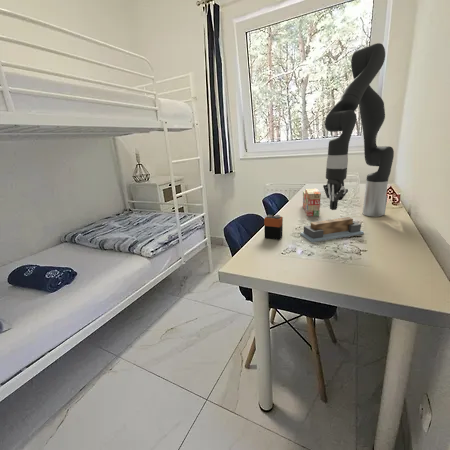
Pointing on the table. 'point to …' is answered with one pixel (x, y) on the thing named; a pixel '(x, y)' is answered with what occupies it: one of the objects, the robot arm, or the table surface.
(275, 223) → the battery
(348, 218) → the slat
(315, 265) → the table surface
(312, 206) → the stack of blocks
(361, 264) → the table surface
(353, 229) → the cap board
